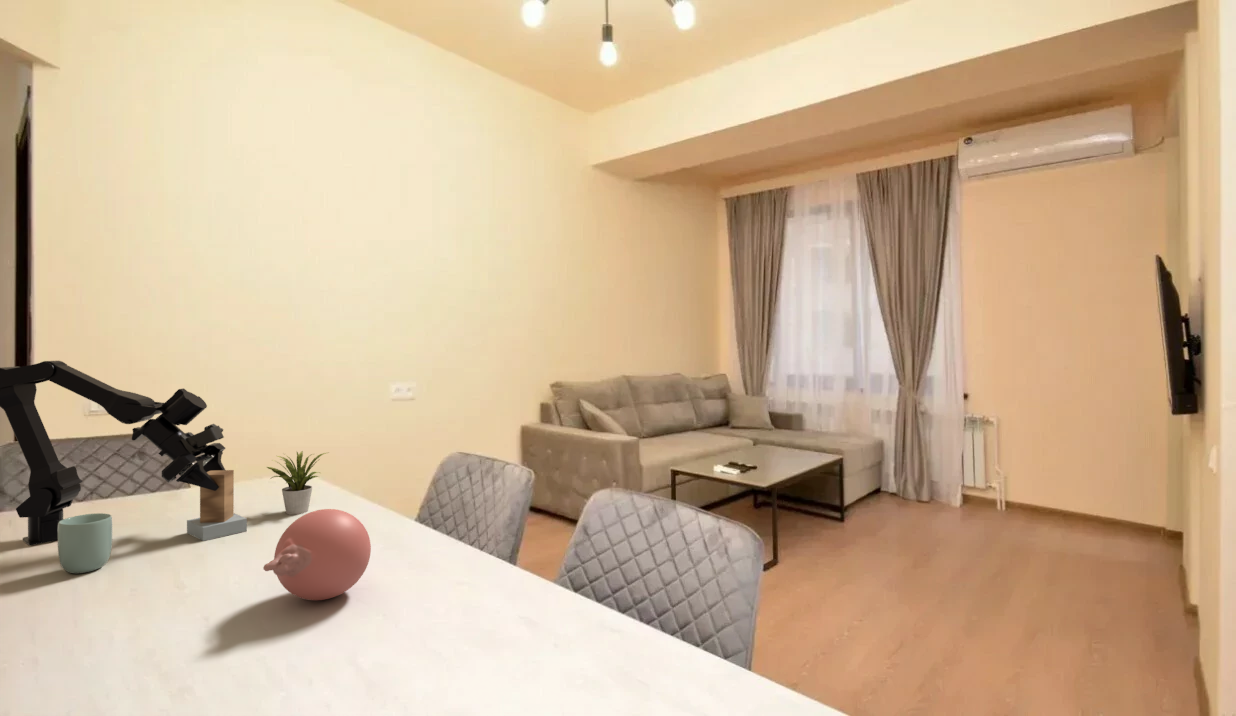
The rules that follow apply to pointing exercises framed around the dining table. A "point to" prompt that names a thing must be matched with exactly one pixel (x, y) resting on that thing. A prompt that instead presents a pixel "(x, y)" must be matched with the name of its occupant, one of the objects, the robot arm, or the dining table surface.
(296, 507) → the house plant
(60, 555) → the cup
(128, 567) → the dining table surface
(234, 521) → the pedestal
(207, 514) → the wooden block
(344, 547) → the balloon
